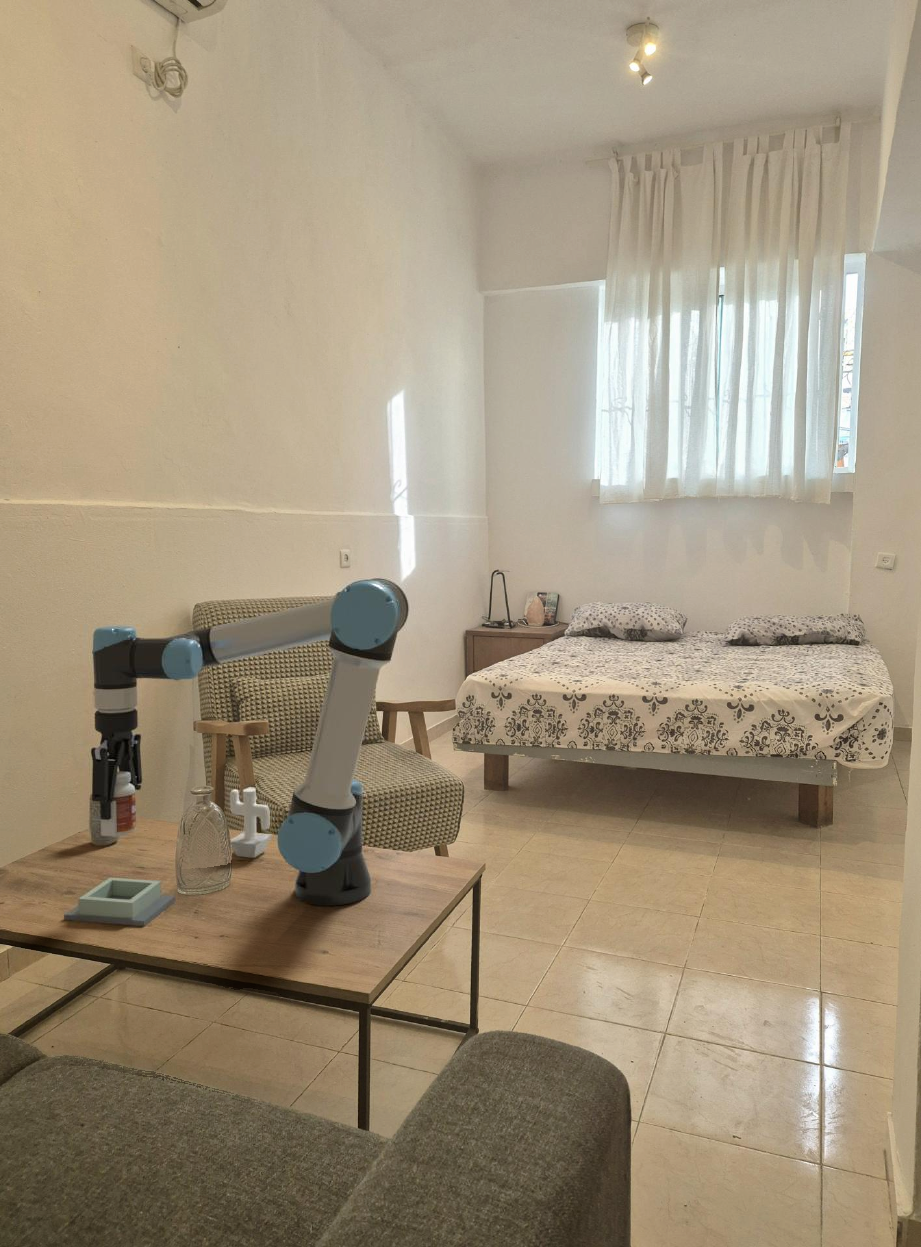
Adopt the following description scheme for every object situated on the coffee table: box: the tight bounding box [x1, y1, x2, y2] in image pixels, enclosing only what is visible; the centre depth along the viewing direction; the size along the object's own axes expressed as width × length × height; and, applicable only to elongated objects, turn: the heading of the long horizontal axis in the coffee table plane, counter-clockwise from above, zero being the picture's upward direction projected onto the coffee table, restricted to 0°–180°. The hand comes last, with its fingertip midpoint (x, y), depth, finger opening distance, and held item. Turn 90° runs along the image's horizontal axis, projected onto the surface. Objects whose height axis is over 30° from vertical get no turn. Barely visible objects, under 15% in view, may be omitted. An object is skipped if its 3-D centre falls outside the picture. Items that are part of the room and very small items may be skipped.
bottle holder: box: [63, 877, 176, 927], centre depth 171 cm, size 16×12×4 cm
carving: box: [88, 793, 122, 847], centre depth 209 cm, size 6×8×12 cm
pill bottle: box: [113, 770, 137, 836], centre depth 169 cm, size 6×6×11 cm
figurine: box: [229, 786, 273, 859], centre depth 202 cm, size 7×9×15 cm
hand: (119, 829), depth 170 cm, fingers closed on pill bottle, 6 cm apart
